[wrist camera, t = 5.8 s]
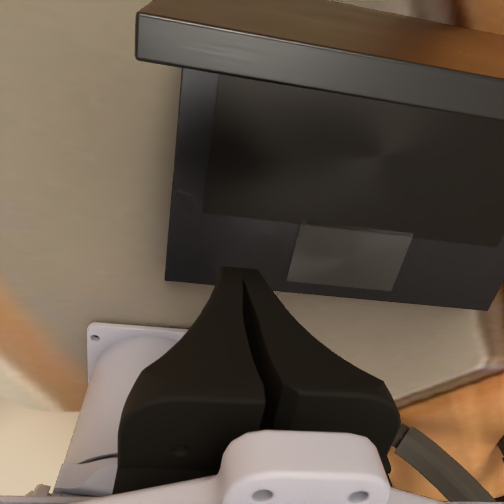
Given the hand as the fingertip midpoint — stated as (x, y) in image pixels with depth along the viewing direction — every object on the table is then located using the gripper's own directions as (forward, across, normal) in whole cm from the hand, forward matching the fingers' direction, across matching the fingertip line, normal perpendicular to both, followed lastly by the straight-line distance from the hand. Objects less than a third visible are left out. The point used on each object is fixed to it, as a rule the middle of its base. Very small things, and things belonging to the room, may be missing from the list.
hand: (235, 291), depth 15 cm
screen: (+1, -7, -8) cm, 11 cm away
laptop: (+10, -7, -1) cm, 12 cm away
